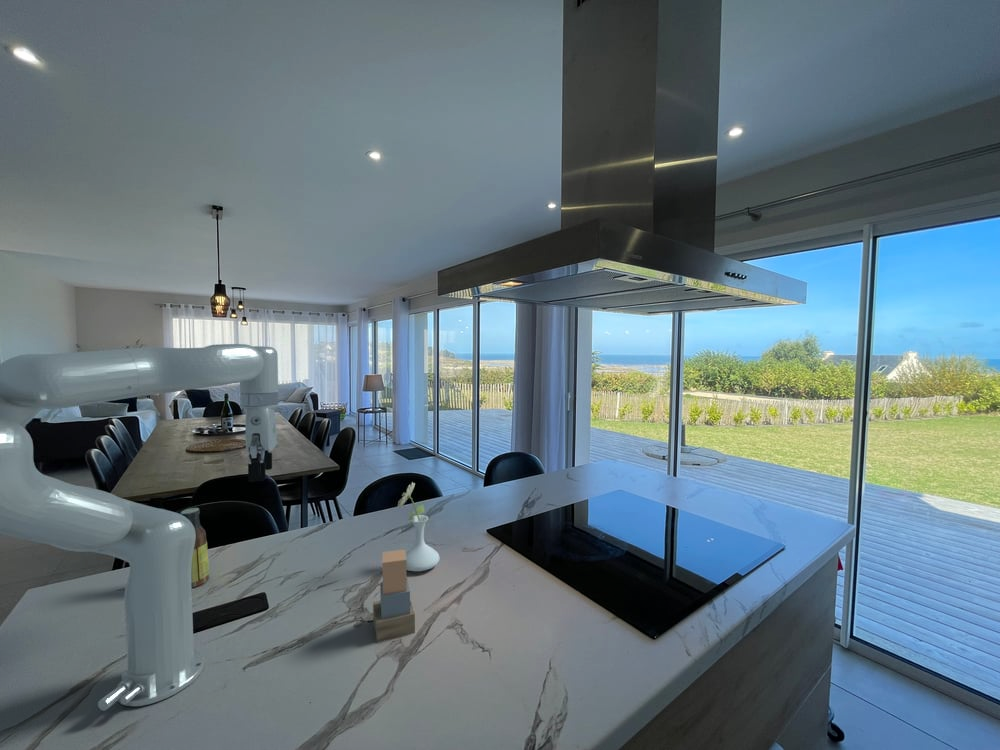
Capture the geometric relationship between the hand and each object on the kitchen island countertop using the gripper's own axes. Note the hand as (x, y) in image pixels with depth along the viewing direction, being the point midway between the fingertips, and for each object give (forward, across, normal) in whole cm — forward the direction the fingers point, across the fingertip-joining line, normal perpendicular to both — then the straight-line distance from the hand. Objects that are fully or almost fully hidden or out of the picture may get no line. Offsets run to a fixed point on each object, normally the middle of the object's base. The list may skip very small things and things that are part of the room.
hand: (260, 475), depth 94 cm
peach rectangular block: (+24, -15, -28) cm, 40 cm away
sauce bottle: (+33, +22, +19) cm, 45 cm away
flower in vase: (+33, +10, -38) cm, 51 cm away
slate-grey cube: (+29, -15, -28) cm, 43 cm away
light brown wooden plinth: (+33, -15, -28) cm, 46 cm away
